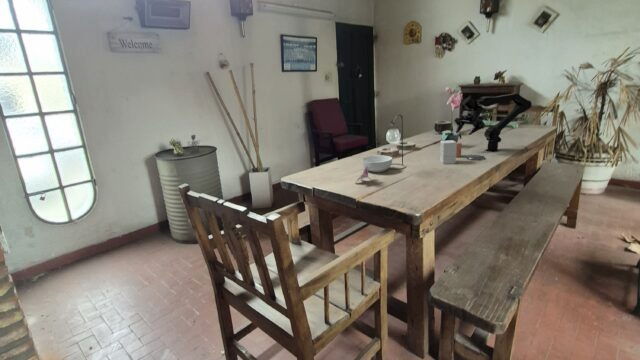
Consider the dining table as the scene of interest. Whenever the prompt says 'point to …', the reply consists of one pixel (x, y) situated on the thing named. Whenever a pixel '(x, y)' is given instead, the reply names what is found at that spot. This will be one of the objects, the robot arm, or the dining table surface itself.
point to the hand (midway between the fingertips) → (462, 133)
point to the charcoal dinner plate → (475, 157)
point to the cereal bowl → (377, 162)
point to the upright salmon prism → (458, 149)
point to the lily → (365, 173)
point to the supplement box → (448, 152)
